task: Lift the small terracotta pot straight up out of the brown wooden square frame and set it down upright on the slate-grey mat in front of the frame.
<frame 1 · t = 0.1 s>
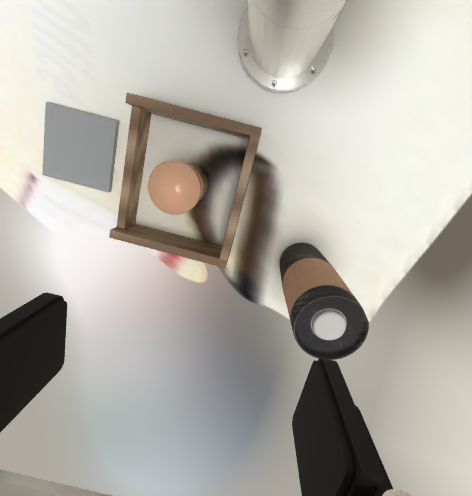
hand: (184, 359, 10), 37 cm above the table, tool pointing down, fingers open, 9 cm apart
terracotta pot: (182, 186, 40), in the brown wooden square frame
brown wooden square frame: (189, 184, 45), on the table
travel mug: (300, 262, 47), on the table
slate mat: (81, 149, 44), on the table
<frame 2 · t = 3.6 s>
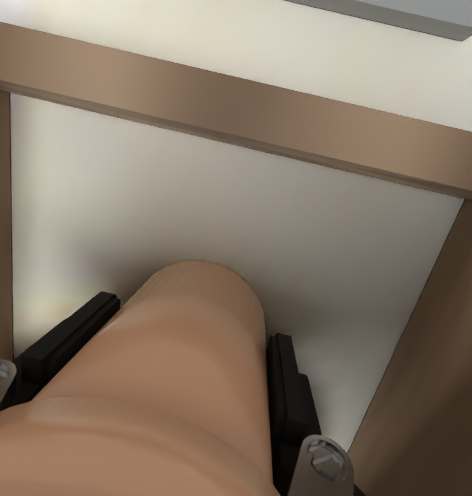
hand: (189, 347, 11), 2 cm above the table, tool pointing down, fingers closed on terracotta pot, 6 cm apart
terracotta pot: (169, 402, 8), in the brown wooden square frame, touching gripper
brown wooden square frame: (198, 322, 13), on the table
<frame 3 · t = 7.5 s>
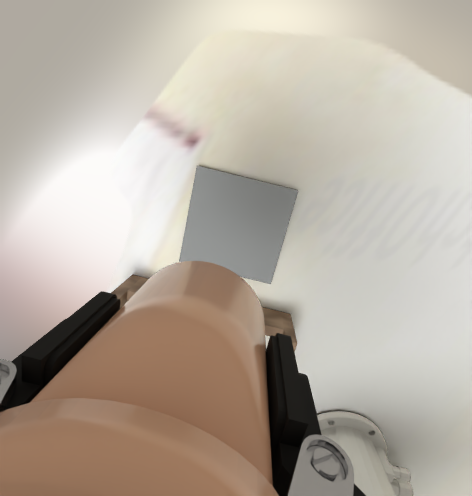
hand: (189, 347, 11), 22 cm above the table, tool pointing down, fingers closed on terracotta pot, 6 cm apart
terracotta pot: (168, 402, 8), point 24 cm above the table, touching gripper
brown wooden square frame: (197, 354, 37), on the table
slate mat: (236, 226, 32), on the table
when the fingers open (4 cm above the table, at t = 11.5 s): terracotta pot drops 1 cm, resting on slate mat.
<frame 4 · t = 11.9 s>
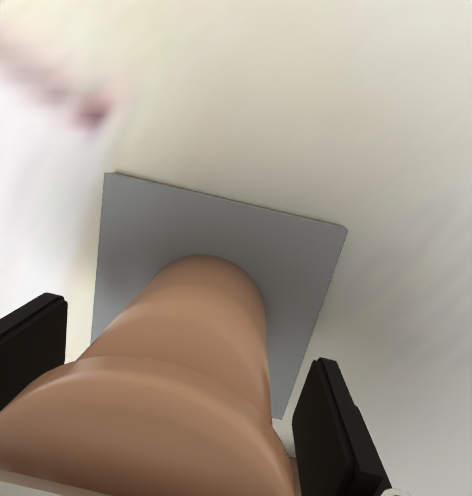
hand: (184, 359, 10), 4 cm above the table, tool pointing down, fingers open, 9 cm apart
terracotta pot: (181, 377, 10), on the slate mat, point 5 cm above the table
slate mat: (205, 302, 15), on the table
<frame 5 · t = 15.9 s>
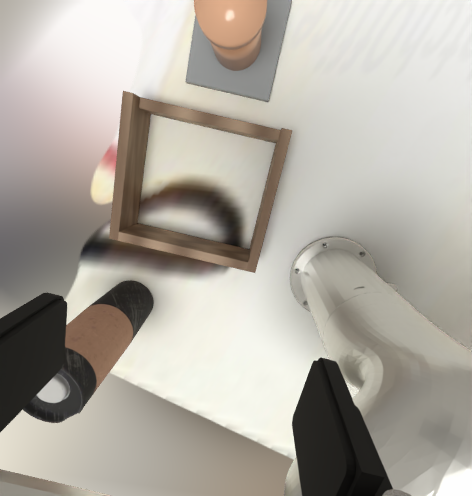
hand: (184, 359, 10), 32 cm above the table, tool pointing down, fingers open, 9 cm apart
terracotta pot: (234, 25, 30), on the slate mat, point 5 cm above the table
brown wooden square frame: (202, 185, 40), on the table
travel mug: (133, 299, 47), on the table
slate mat: (236, 45, 35), on the table
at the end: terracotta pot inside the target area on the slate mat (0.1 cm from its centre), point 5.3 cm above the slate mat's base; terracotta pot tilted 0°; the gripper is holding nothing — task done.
